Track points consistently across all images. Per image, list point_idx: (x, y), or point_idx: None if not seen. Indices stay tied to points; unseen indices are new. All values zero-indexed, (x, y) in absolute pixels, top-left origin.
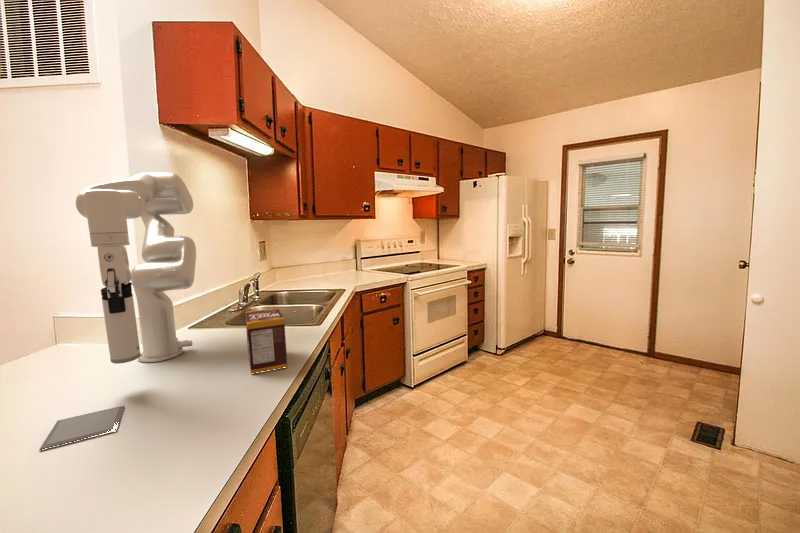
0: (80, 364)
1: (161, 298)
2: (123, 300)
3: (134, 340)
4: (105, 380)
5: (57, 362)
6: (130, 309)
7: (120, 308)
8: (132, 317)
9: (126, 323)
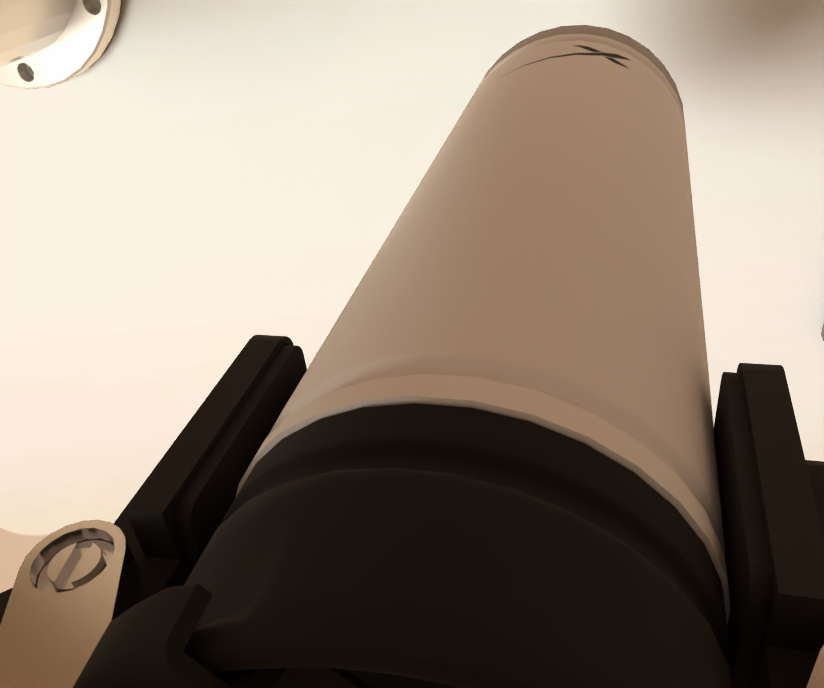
0: (59, 339)
1: None
2: (809, 525)
3: (639, 104)
4: (334, 211)
5: (15, 415)
6: (634, 298)
7: (805, 460)
8: (623, 215)
9: (687, 255)
